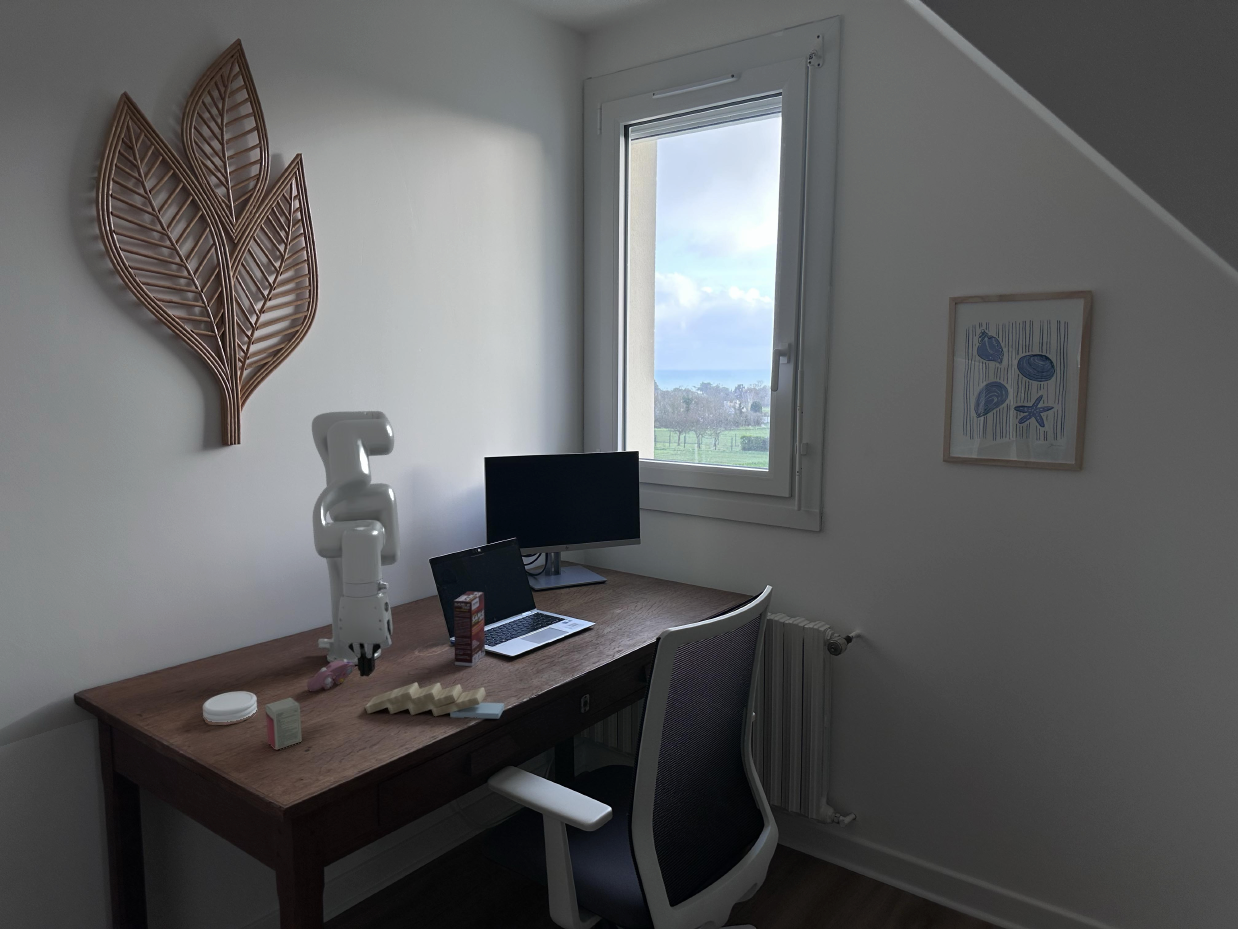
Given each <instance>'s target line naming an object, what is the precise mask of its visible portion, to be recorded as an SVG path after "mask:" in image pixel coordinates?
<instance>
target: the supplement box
mask: <svg viewBox="0 0 1238 929" xmlns="http://www.w3.org/2000/svg"><path fill="white" fill-rule="evenodd" d="M453 618H454V619H453V623H454V624H453V625H454V626H453V627H454V628H453V629H454V631H453V637H454V665H455V666H462V667H473V666H474V665H475V664H476V663H477V662H478V661H479V660H480V659H481V658H483V657H484V656H485V655H486V646H485V645H486V641H485V640H486V637H485V635H486V634H485V631H486V630H485V592H482V591H466V592H465V593H463V594H462V595H460V597H458V598H457V599H454V600H453Z"/></svg>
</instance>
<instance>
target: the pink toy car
mask: <svg viewBox="0 0 1238 929" xmlns="http://www.w3.org/2000/svg"><path fill="white" fill-rule="evenodd" d="M355 668H356V665H354V664H353V663H351V662H350V661H347V660H346V659H344V660H343V661H335V662H332V663H330V662H329V663H328V664H327V665H326V666H325V667H322V668H320V670H318V672H316V674H315V675H314V676H313V677H312V678H311V679H309V680H308V682H307V683H306V688H307V690H308V691H309V690H311V691H310V692H314V691H317V690H318V689H320V688H321V687H323V688H324V689H325V690H326V689H327V690H329V689H331V688H332V687H333V685H334V684H335V683H336V685H341V684H342V683H344V681H345V680H346V678H348V677H349V676H350V675H351V674H352V673H353V671H354V670H355ZM340 683H341V684H340ZM330 687H331V688H330ZM328 688H329V689H328Z"/></svg>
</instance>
